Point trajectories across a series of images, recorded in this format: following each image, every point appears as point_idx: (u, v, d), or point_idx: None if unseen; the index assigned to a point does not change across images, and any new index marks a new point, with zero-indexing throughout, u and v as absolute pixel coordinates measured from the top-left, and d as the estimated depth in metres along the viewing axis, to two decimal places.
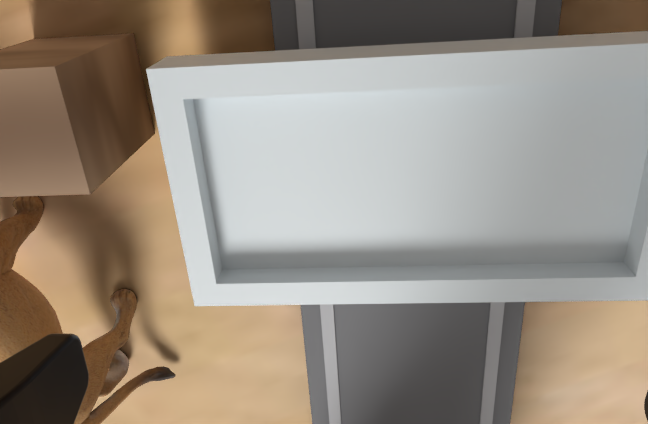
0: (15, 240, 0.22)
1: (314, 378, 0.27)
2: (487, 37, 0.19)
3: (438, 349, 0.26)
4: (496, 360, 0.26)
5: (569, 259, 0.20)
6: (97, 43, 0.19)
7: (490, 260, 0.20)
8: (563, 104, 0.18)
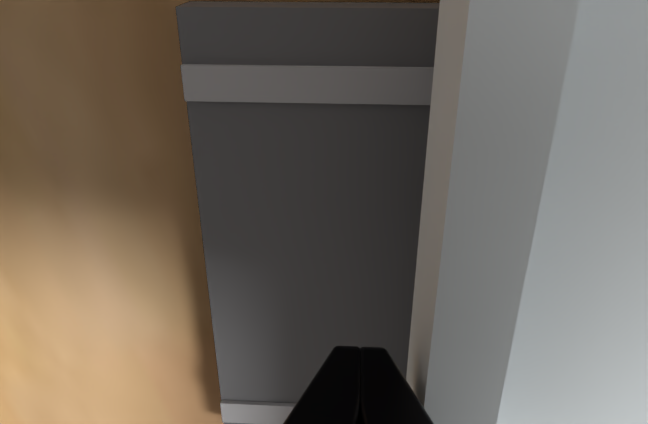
0: None
1: None
2: (343, 153, 0.10)
3: None
4: None
5: None
6: None
7: None
8: (620, 74, 0.06)
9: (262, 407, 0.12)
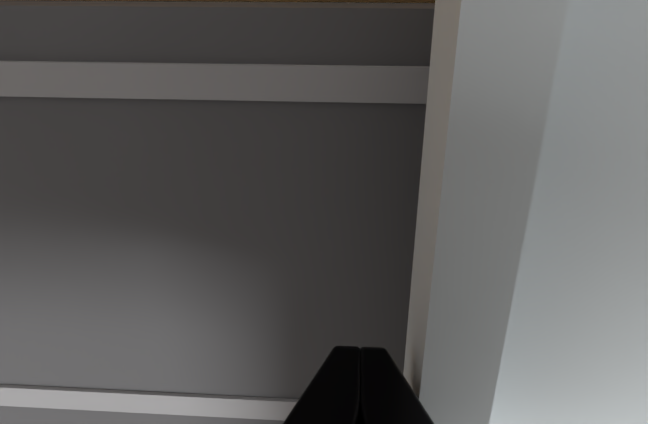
0: None
1: None
2: None
3: None
4: None
5: None
6: None
7: None
8: (611, 73, 0.06)
9: None
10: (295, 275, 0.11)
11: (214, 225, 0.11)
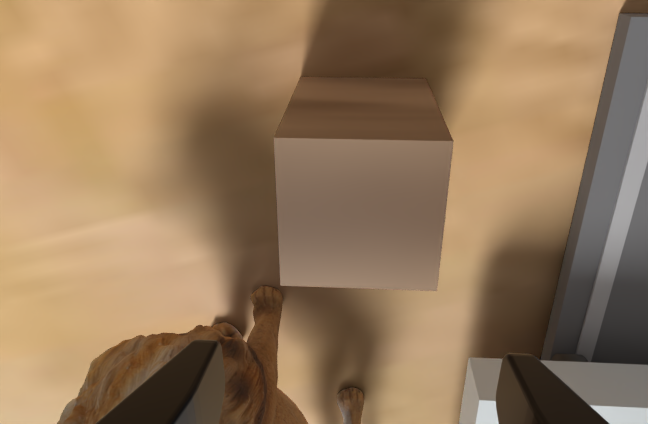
0: (276, 350, 0.19)
1: None
2: None
3: None
4: None
5: None
6: (415, 95, 0.16)
7: None
8: None
9: None
10: None
11: None
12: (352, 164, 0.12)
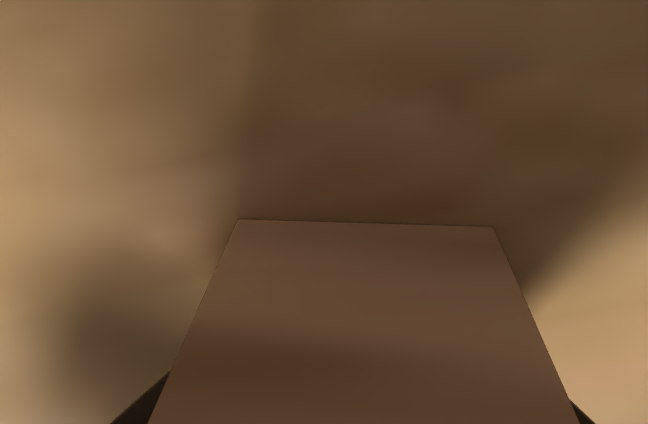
0: None
1: None
2: None
3: None
4: None
5: None
6: (485, 306, 0.07)
7: None
8: None
9: None
10: None
11: None
12: None
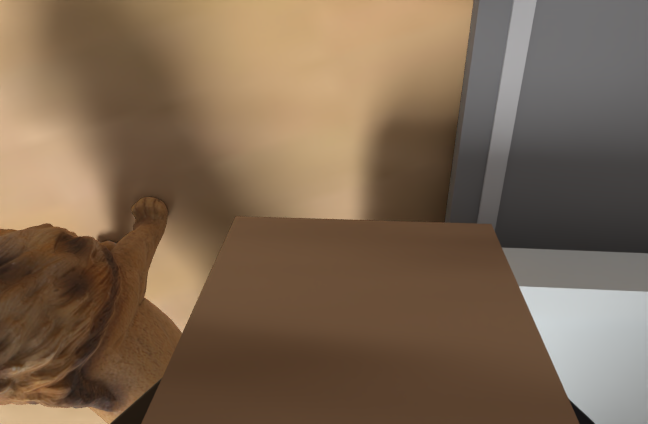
0: (148, 259, 0.17)
1: None
2: None
3: None
4: None
5: None
6: (483, 303, 0.07)
7: None
8: None
9: None
10: (617, 164, 0.17)
11: None
12: None
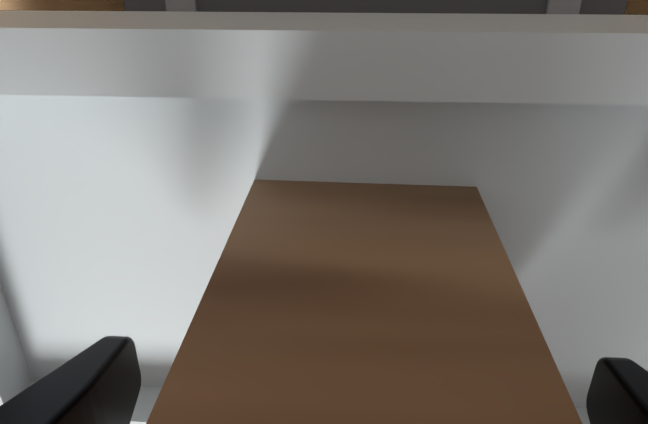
0: None
1: None
2: None
3: None
4: None
5: None
6: (467, 244, 0.08)
7: None
8: (638, 146, 0.09)
9: None
10: None
11: None
12: None
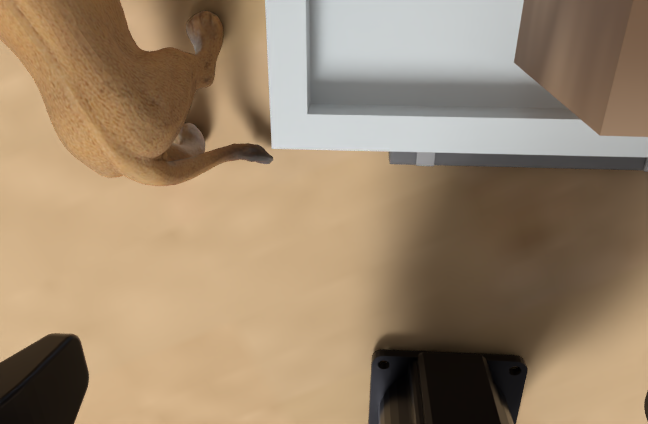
0: None
1: None
2: None
3: None
4: None
5: None
6: None
7: None
8: None
9: None
10: None
11: None
12: None
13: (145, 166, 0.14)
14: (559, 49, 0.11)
